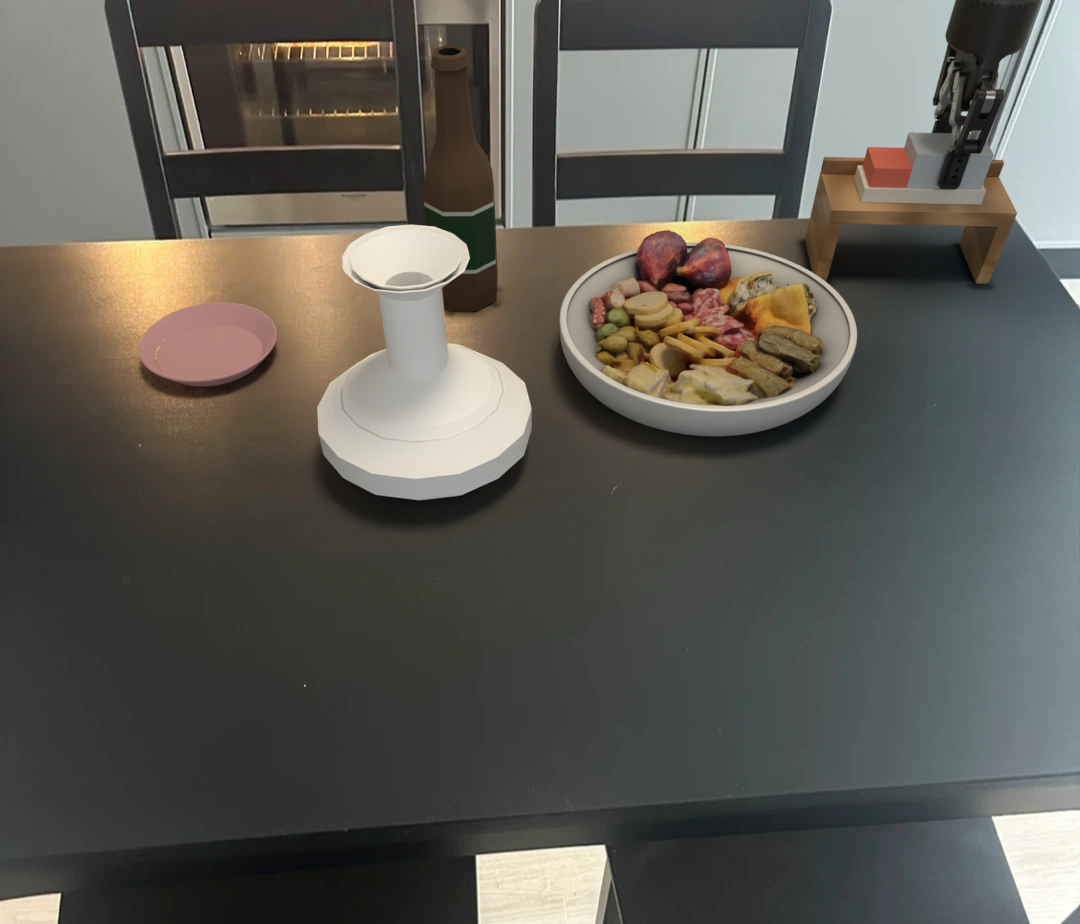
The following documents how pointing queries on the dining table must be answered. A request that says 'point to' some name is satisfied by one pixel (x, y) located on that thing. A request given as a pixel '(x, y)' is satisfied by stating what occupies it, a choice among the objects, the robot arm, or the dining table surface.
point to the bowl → (706, 336)
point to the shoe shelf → (907, 217)
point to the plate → (208, 343)
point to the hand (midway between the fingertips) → (941, 172)
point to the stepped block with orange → (919, 173)
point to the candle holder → (420, 381)
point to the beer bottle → (461, 184)
